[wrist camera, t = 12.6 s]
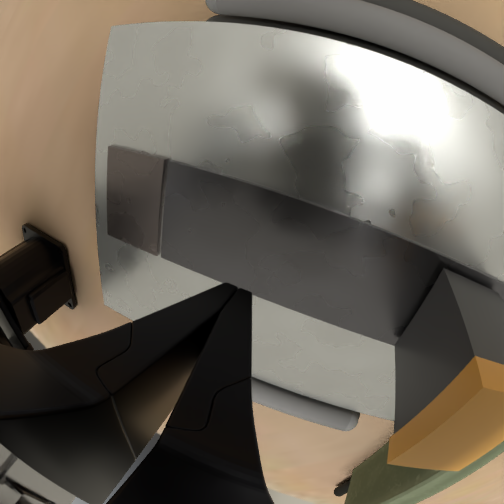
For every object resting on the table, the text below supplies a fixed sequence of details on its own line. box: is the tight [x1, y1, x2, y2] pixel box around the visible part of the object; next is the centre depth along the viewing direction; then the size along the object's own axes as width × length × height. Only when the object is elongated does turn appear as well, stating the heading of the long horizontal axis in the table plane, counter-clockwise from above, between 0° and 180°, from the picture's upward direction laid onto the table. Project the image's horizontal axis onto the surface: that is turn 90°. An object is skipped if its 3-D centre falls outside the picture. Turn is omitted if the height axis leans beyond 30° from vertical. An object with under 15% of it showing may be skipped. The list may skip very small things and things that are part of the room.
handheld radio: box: [334, 441, 504, 504], centre depth 16 cm, size 7×3×25 cm
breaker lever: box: [387, 268, 504, 471], centre depth 7 cm, size 3×4×6 cm
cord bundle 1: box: [206, 0, 504, 114], centre depth 7 cm, size 14×4×3 cm, turn 77°
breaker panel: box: [95, 21, 504, 421], centre depth 12 cm, size 24×16×2 cm, turn 77°
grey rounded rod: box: [251, 377, 360, 431], centre depth 16 cm, size 14×4×3 cm, turn 77°
